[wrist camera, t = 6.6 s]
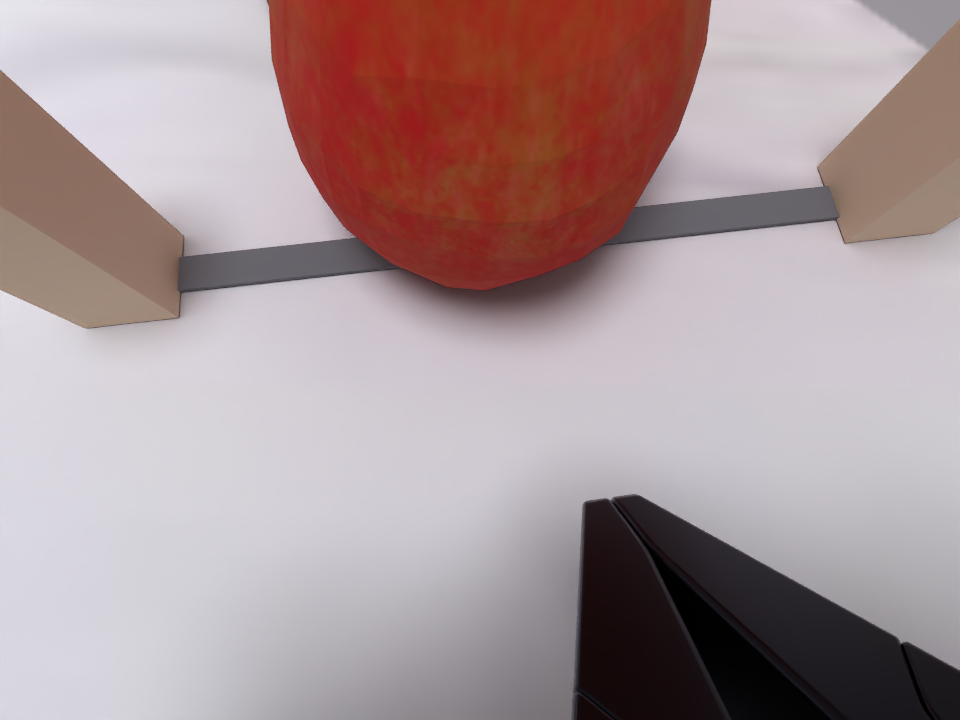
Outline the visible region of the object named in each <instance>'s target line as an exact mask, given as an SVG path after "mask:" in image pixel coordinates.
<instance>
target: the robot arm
mask: <svg viewBox="0 0 960 720" xmlns="http://www.w3.org/2000/svg"><path fill="white" fill-rule="evenodd" d="M573 693H574V695H573V699H572V719H571V720H960V670H958V669H956V668H955V667H953V666H951V665H949V664H947V663H945V662H943V661H942V660H940V659H938V658H936V657H934V656H933V655H931V654H929V653H927V652H925V651H923V650H922V649H920V648H918V647H916V646H914V645H912V644H911V643H909V642H902V643H901V644H900V641H899V639H898V638H897V637H896V636H894V635H892V634H890V633H888V632H887V631H885V630H883V629H881V628H879V627H877V626H876V625H874V624H872V623H870V622H868V621H867V620H865V619H863V618H861V617H859V616H858V615H856V614H854V613H852V612H850V611H848V610H847V609H845V608H843V607H841V606H839V605H838V604H836V603H834V602H832V601H830V600H828V599H827V598H825V597H823V596H821V595H819V594H818V593H816V592H814V591H812V590H810V589H809V588H807V587H805V586H803V585H801V584H799V583H798V582H796V581H794V580H792V579H790V578H789V577H787V576H785V575H783V574H781V573H779V572H778V571H776V570H774V569H772V568H770V567H769V566H767V565H765V564H763V563H761V562H760V561H758V560H756V559H754V558H752V557H750V556H749V555H747V554H745V553H743V552H741V551H740V550H738V549H736V548H734V547H732V546H730V545H729V544H727V543H725V542H723V541H721V540H720V539H718V538H716V537H714V536H712V535H710V534H709V533H707V532H705V531H703V530H701V529H700V528H698V527H696V526H694V525H692V524H691V523H689V522H687V521H685V520H683V519H681V518H680V517H678V516H676V515H674V514H672V513H671V512H669V511H667V510H665V509H663V508H661V507H660V506H658V505H656V504H654V503H652V502H651V501H649V500H647V499H645V498H643V497H642V496H639V495H636V494H632V495H625V496H618V497H613V498H612V499H611V500H609V499H606V498H604V499H597V500H590V501H586V502H584V503H583V507H582V527H581V547H580V567H579V588H578V608H577V628H576V648H575V668H574V688H573Z"/></svg>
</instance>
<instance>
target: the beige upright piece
mask: <svg viewBox="0 0 960 720" xmlns="http://www.w3.org/2000/svg"><path fill="white" fill-rule="evenodd" d="M818 169H819V172H820V175H821V178H822V180H823V183H824V187H815V188H806V189H797V190H788V191H779V192H770V193H761V194H751V195H742V196H733V197H724V198H715V199H706V200H697V201H688V202H679V203H669V204H660V205H651V206H642V207H634V208H633V210H632V212H631V213H630V215H629V217H628V219H627V220H626V222H625V224H624V226H623V227H622V229H621V231H620V232H619V233H618V234H617V235H615V236H614V237H612V238H611V239H609V240H608V241H607V242H605V243H604V244H602V245H611V244H620V243H629V242H638V241H647V240H656V239H665V238H674V237H683V236H692V235H700V234H709V233H718V232H727V231H736V230H745V229H754V228H763V227H772V226H781V225H790V224H799V223H808V222H817V221H826V220H835V219H837V222H838V225H839V227H840V230H841V233H842V236H843V239H844V241H845V243H850V242H859V241H868V240H877V239H886V238H895V237H903V236H912V235H921V234H930V233H934V232H936V231H938V230H939V229H941V228H942V227H944V226H946V225H947V224H949V223H950V222H952V221H954V220H955V219H957V218H958V217H960V19H959V20H958V22H956V24H954V26H953V27H952V28H951V29H950V30H949V31H948V32H947V33H946V34H945V35H944V36H943V37H942V38H941V39H940V40H939V41H938V42H937V43H936V44H935V45H934V46H933V47H932V48H931V49H930V50H929V52H928V53H927V54H926V55H925V56H924V57H923V58H922V59H921V60H920V61H919V62H918V63H917V64H916V65H915V66H914V67H913V68H912V69H911V70H910V71H909V72H908V73H907V74H906V75H905V76H904V78H903V79H902V80H901V81H900V82H899V83H898V84H897V85H896V86H895V87H894V88H893V89H892V90H891V91H890V92H889V93H888V94H887V95H886V96H885V97H884V98H883V99H882V100H881V101H880V102H879V103H878V105H877V106H876V107H875V108H874V109H873V110H872V111H871V112H870V113H869V114H868V115H867V116H866V117H865V118H864V119H863V120H862V121H861V122H860V123H859V124H858V125H857V126H856V127H855V128H854V129H853V131H852V132H851V133H850V134H849V135H848V136H847V137H846V138H845V139H844V140H843V141H842V142H841V143H840V144H839V145H838V146H837V147H836V148H835V149H834V150H833V151H832V152H831V153H830V154H829V155H828V157H827V158H826V159H825V160H824V161H823V162H822V163H821V164H820V165H819V166H818ZM183 237H184V236H183V235H182V234H181V233H180V232H179V231H178V230H177V229H175V228H174V227H173V226H172V225H171V224H170V223H169V222H168V221H167V220H166V219H164V218H163V217H162V216H161V215H160V214H159V213H158V212H157V211H156V210H154V209H153V208H152V207H151V206H150V205H149V204H148V203H147V202H146V201H145V200H143V199H142V198H141V197H140V196H139V195H138V194H137V193H136V192H135V191H133V190H132V189H131V188H130V187H129V186H128V185H127V184H126V183H125V182H124V181H122V180H121V179H120V178H119V177H118V176H117V175H116V174H115V173H114V172H112V171H111V170H110V169H109V168H108V167H107V166H106V165H105V164H104V163H103V162H101V161H100V160H99V159H98V158H97V157H96V156H95V155H94V154H93V153H91V152H90V151H89V150H88V149H87V148H86V147H85V146H84V145H83V144H82V143H80V142H79V141H78V140H77V139H76V138H75V137H74V136H73V135H72V134H70V133H69V132H68V131H67V130H66V129H65V128H64V127H63V126H62V125H61V124H59V123H58V122H57V121H56V120H55V119H54V118H53V117H52V116H51V115H49V114H48V113H47V112H46V111H45V110H44V109H43V108H42V107H41V106H40V105H38V104H37V103H36V102H35V101H34V100H33V99H32V98H31V97H30V96H28V95H27V94H26V93H25V92H24V91H23V90H22V89H21V88H20V87H19V86H17V85H16V84H15V83H14V82H13V81H12V80H11V79H10V78H9V77H7V76H6V75H5V74H4V73H3V72H2V71H1V70H0V290H2V291H4V292H6V293H9V294H11V295H13V296H15V297H17V298H20V299H22V300H24V301H26V302H28V303H31V304H33V305H35V306H37V307H39V308H42V309H44V310H46V311H48V312H50V313H53V314H55V315H57V316H59V317H61V318H64V319H66V320H68V321H70V322H72V323H75V324H77V325H79V326H81V327H84V328H92V327H101V326H110V325H119V324H128V323H137V322H146V321H155V320H164V319H172V318H179V307H180V292H188V291H197V290H206V289H215V288H224V287H233V286H242V285H251V284H260V283H269V282H278V281H287V280H296V279H305V278H314V277H323V276H332V275H341V274H350V273H359V272H368V271H377V270H386V269H395V268H401V267H398V266H396V265H394V264H392V263H390V262H389V261H388V260H386V259H385V258H384V257H382V256H381V255H380V254H378V253H377V252H376V251H374V250H373V249H372V248H370V247H369V246H368V245H366V244H365V243H364V242H362V241H361V240H360V239H358V238H351V239H342V240H332V241H323V242H314V243H305V244H296V245H287V246H278V247H269V248H260V249H250V250H241V251H232V252H223V253H214V254H205V255H196V256H187V257H182V255H183ZM602 245H601V246H602Z"/></svg>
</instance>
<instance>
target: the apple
mask: <svg viewBox="0 0 960 720" xmlns="http://www.w3.org/2000/svg"><path fill="white" fill-rule="evenodd" d="M710 7H711V0H269V15H270V34H271V54H272V62H273V66H274V70H275V74H276V78H277V82H278V86H279V90H280V94H281V98H282V102H283V106H284V110H285V114H286V118H287V122H288V126H289V129H290V132H291V134H292V137H293V140H294V142H295V145H296V148H297V151H298V153H299V156H300V159H301V161H302V163H303V165H304V166H305V168H306V170H307V172H308V173H309V175H310V177H311V178H312V180H313V182H314V184H315V185H316V187H317V189H318V190H319V192H320V194H321V196H322V197H323V199H324V200H325V202H326V203H327V204H328V206H329V207H330V208H331V210H332V211H333V213H334V214H335V215H336V217H337V218H338V219H339V221H340V222H341V223H342V225H343V226H344V227H345V228H346V229H347V230H348V231H350V232H351V233H352V234H353V235H354V236H356V237H357V238H358V239H360V240H361V241H362V242H364V243H365V244H366V245H368V246H369V247H370V248H372V249H373V250H374V251H376V252H377V253H378V254H380V255H381V256H382V257H384V258H385V259H386V260H388V261H389V262H390V263H392V264H394V265H396V266H398V267H401V268H403V269H405V270H408V271H410V272H412V273H415V274H417V275H419V276H422V277H424V278H426V279H429V280H431V281H433V282H436V283H438V284H440V285H443V286H445V287H452V288H463V289H475V290H489V289H492V288H496V287H500V286H503V285H507V284H510V283H514V282H517V281H521V280H524V279H528V278H531V277H535V276H539V275H542V274H545V273H547V272H550V271H552V270H555V269H557V268H560V267H562V266H565V265H567V264H570V263H573V262H575V261H578V260H580V259H582V258H583V257H585V256H586V255H588V254H589V253H591V252H592V251H593V250H595V249H596V248H598V247H599V246H601V245H602V244H604V243H605V242H607V241H608V240H609V239H611V238H612V237H614V236H615V235H617V234H618V233H619V232H620V231H621V229H622V227H623V226H624V224H625V222H626V220H627V219H628V217H629V215H630V213H631V212H632V210H633V208H634V207H635V205H636V203H637V201H638V200H639V198H640V196H641V194H642V193H643V191H644V189H645V188H646V186H647V184H648V182H649V181H650V179H651V177H652V175H653V174H654V172H655V170H656V169H657V167H658V165H659V163H660V162H661V160H662V158H663V156H664V155H665V153H666V151H667V149H668V148H669V146H670V144H671V143H672V141H673V139H674V137H675V136H676V134H677V132H678V130H679V127H680V124H681V121H682V119H683V116H684V113H685V110H686V107H687V105H688V102H689V99H690V96H691V93H692V91H693V88H694V84H695V81H696V77H697V74H698V70H699V67H700V63H701V60H702V57H703V53H704V50H705V46H706V42H707V33H708V24H709V16H710Z"/></svg>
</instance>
